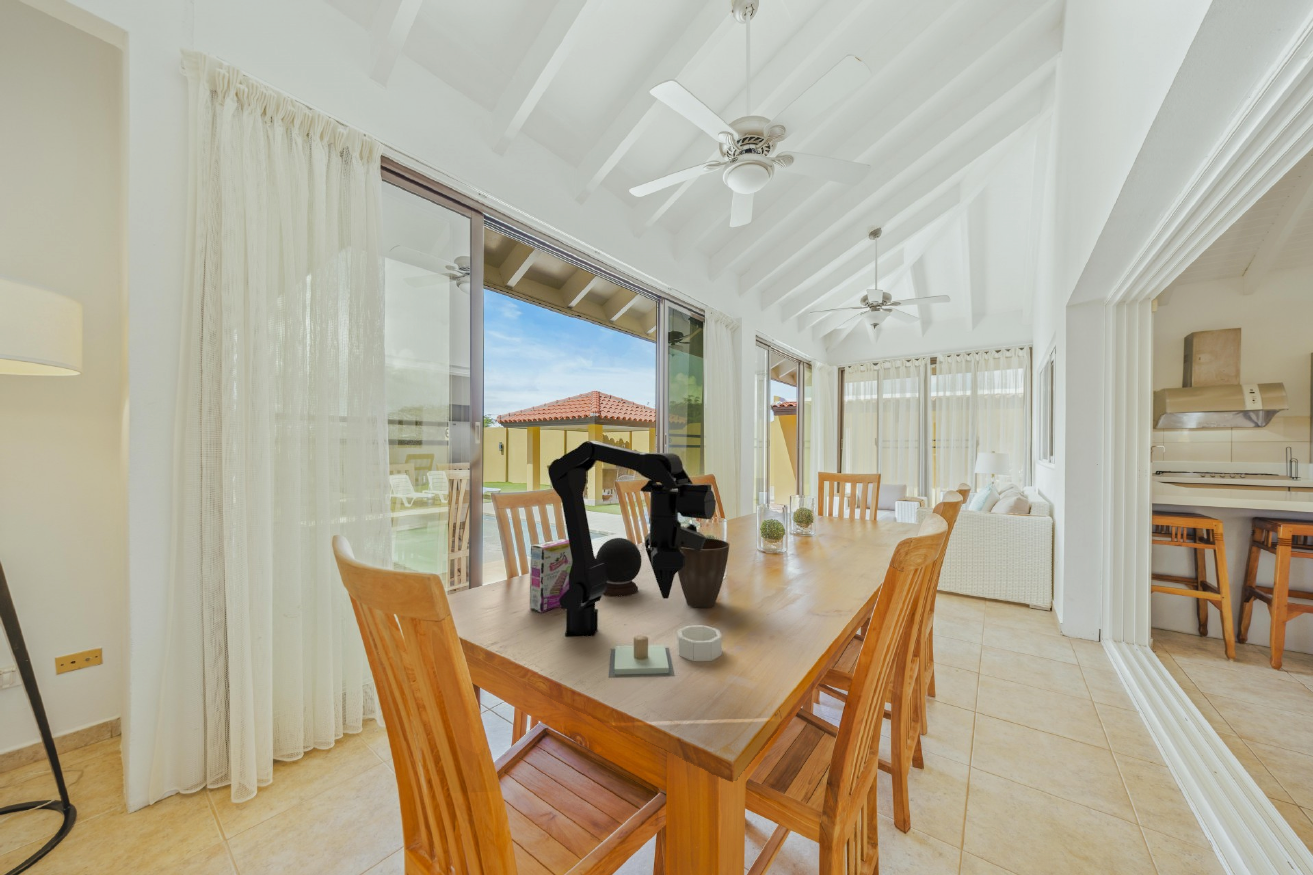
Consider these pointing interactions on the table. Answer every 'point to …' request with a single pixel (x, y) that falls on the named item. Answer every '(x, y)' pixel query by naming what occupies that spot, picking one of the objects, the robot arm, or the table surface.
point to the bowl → (699, 643)
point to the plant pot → (703, 572)
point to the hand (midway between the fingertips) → (662, 590)
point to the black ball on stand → (620, 566)
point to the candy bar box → (549, 574)
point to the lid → (641, 658)
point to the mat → (611, 674)
